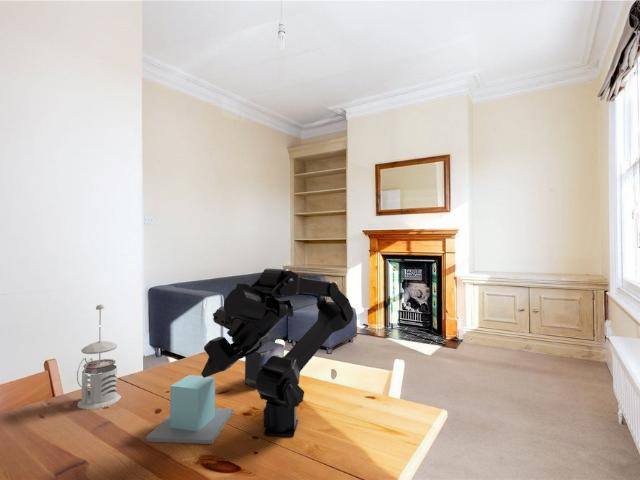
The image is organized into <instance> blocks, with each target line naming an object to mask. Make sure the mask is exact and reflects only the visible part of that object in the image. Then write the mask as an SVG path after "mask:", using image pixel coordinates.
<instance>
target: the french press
mask: <svg viewBox="0 0 640 480" xmlns="http://www.w3.org/2000/svg"><path fill="white" fill-rule="evenodd" d="M95 310H97V311H99V324H102V323H101V317H102V316H101V315H102V314H101V313H102V312H101V311H102V310H105V305H103V304H97V305H96V307H95ZM116 349H118V344H117V343H115V342H112V341H106V340H101V328H99V340H98V341H96V342H92V343H90V344H88V345H85V347H83V348H82V349H81V353H82V354H85V355H96V354H98V357H99V359H97V360H96V359H95V360H93V358H92V357H91V358H89V360H87V358H86V357H84V358H83V359H82V360H81V361H80V363H79V365H78V368H77V371H76V382H77V384H78V386H79V387H80V388H81V400H80V401H78V403H77V404H78V405H77V406H78V407H77V406H76V407H77V408H78V409H81V408H82V409H81V410H95V409H99V408H100V407H101V408H105V407H108V406H111V405H113V404H115V403H117V402H118V401H120V400H121V397H122V396H121V395H120V394H119V393H118V392H117V389H118V388H117V383H118V382H117V380H118V379H117V371H118V368H117V365H116V360H115V359H113V358H102V359H101V354H103V353H107V352H111V351H114V350H116ZM84 360H85V363H84V365H83V366H82V367H83V368H84V369H83V370H82V371H81V384H80V381H79V370H80V367H81V364H82V363H83V362H84ZM88 389H89V390H88ZM110 404H111V405H110ZM107 405H108V406H107ZM104 406H105V407H104Z"/></svg>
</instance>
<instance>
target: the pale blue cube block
mask: <svg viewBox="0 0 640 480" xmlns="http://www.w3.org/2000/svg"><path fill="white" fill-rule="evenodd" d="M169 387H170V389H169V391H170V392H169V393H170V397H169V399H170V401H169V404H170V406H169V407H170V411H169V413H170V414H169V415H170V428H177V429H184V430H191V431H199V430H200V429H201V428H202V427H204V426H205V425H206V424H207V423H208V422H209V421H211V420H212V419H213V418H214V417H215V408H216V377H212V376H208V377H205V378H204V377H203V376H202V375H194V374H193V375H192V374H189V375H187V376H185V377H183V378H181V379H180V380H177V381H176V382H175V383H173V384H171V385H170V386H169Z"/></svg>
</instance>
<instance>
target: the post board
mask: <svg viewBox="0 0 640 480" xmlns="http://www.w3.org/2000/svg"><path fill="white" fill-rule="evenodd" d="M234 410H235V409H234V408H222V407H219V408H218V407H215V417H214V418H213V419H212V420H211V421H209V422H208V423H207V424H206V425H205V426H204V427H202V428H201V429H200V430H199V431H191V430H184V429H177V428H170V414H169V415H168V416H167V417H166V418H165V419H164V420H162V422H160V424H159V425H158V426H156V427H155V428H154V429H153V430H152V432H150V433H149V434H148V435H147V436H146V437H145V442H153V443H178V444H181V443H182V444H198V445H199V444H201V445H203V444H204V445H213V443H214V442H215V441H216V439H217V437H218V436H219V435H220V433H221V432H222V430H223V429H224V427H225V426H226V425H227V423H228V421H229V420H230V419H231V417H232V415H234Z"/></svg>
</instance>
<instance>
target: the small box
mask: <svg viewBox="0 0 640 480" xmlns="http://www.w3.org/2000/svg"><path fill="white" fill-rule="evenodd" d="M259 345H260V344H259V343H258V346H259ZM273 355H274V356H278V357H284V356H285V345H284V344H282V343H278V342H275V341H271V340H268V343H267V344H266V345H265V346H264V347H263V348H261V349H259V350H258V351H256V352H255V353H253V354H250V355H248V356H246V357H244V359H245V361H244V364H245V365H244V385H247V386H250V387H252V388H256V376H257V374H258V373H259V371H260V370H261V369H262V368H260V367H261V366H262V365H264V364H265V363H266V362H267V361H268V360H269V358H270V357H271V356H273ZM256 389H257V388H256Z"/></svg>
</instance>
